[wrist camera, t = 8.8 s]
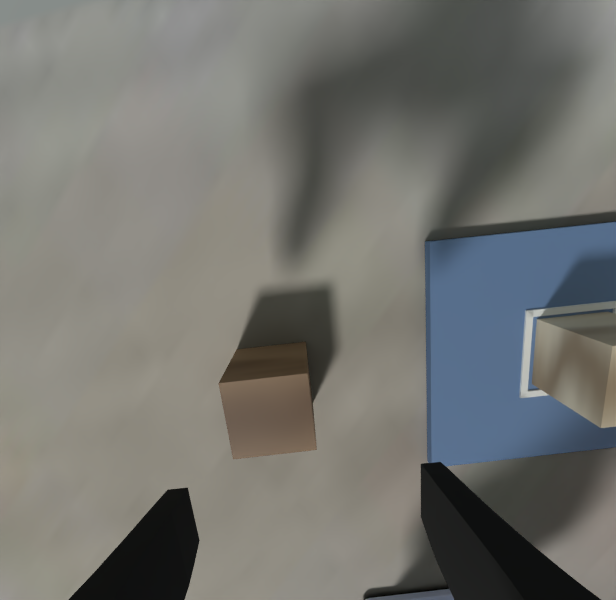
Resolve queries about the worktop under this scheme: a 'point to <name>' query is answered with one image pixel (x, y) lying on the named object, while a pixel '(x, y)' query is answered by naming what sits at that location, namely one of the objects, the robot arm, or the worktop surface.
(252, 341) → the worktop surface
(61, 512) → the worktop surface
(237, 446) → the walnut block
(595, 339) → the maple block
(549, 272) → the board
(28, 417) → the worktop surface
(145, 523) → the robot arm
